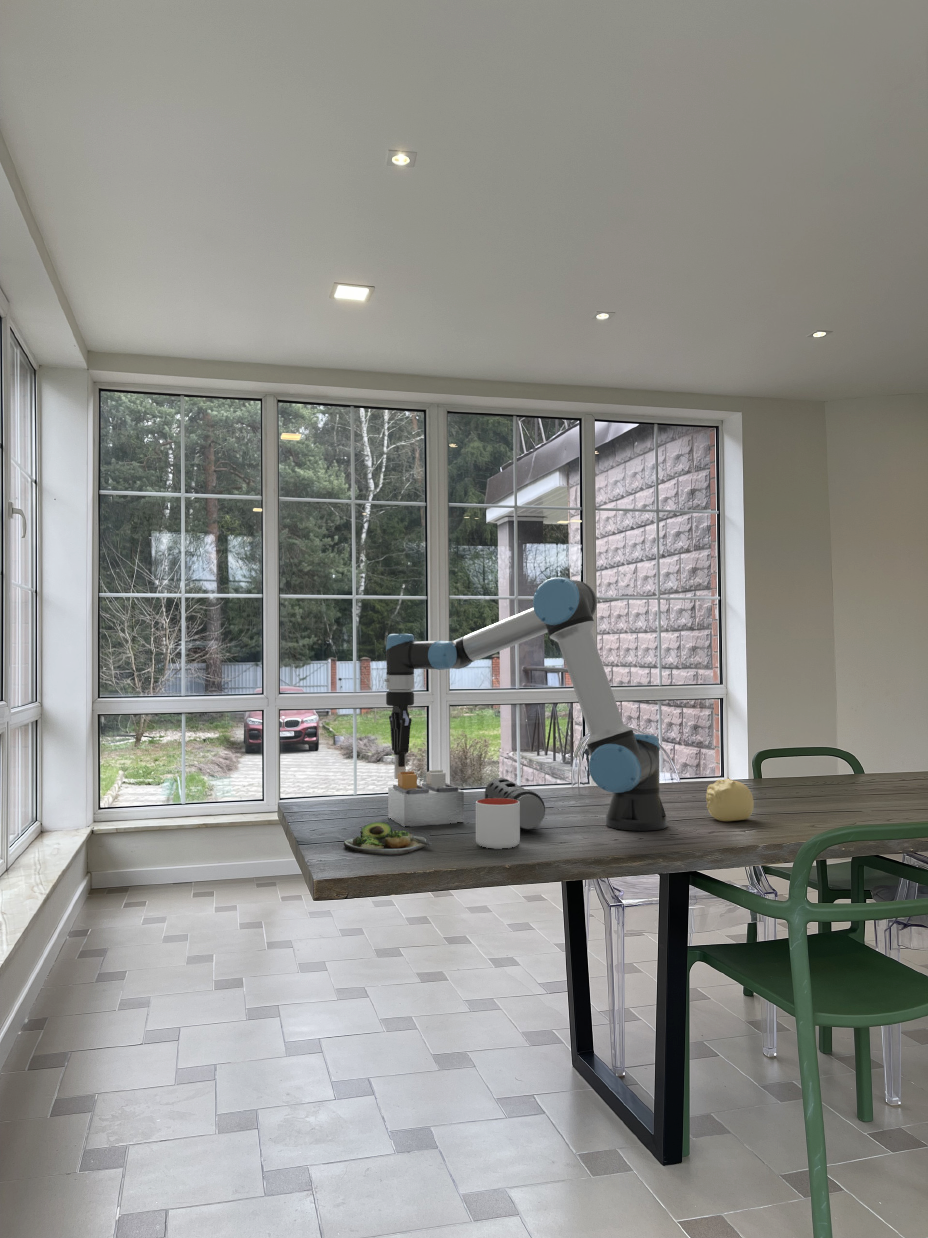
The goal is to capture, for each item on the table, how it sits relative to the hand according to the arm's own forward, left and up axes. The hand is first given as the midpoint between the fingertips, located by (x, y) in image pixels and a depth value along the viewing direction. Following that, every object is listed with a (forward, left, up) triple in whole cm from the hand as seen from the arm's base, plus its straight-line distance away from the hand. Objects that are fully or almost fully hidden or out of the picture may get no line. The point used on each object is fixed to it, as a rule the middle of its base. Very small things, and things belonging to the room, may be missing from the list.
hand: (400, 778), depth 249 cm
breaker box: (-9, -4, -10) cm, 14 cm away
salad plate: (-36, +15, -10) cm, 41 cm away
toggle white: (-6, -8, -2) cm, 10 cm away
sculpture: (-38, -78, -10) cm, 87 cm away
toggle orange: (-6, 0, -2) cm, 7 cm away
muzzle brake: (-23, -23, -10) cm, 34 cm away
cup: (-45, -9, -10) cm, 47 cm away
